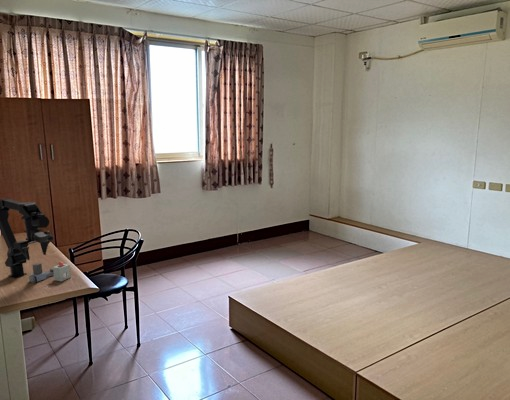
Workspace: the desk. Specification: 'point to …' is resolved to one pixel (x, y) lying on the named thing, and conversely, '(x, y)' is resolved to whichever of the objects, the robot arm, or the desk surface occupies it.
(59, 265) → the button
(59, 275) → the cabinet
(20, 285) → the desk surface
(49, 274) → the rail
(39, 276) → the carriage
